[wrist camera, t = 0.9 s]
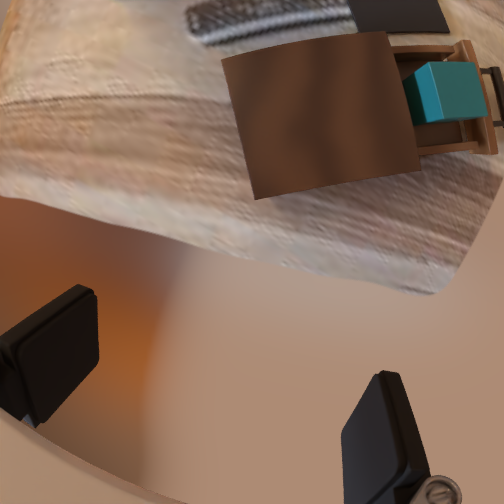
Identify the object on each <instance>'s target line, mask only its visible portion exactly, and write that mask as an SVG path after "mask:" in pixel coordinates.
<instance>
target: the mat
mask: <svg viewBox="0 0 504 504" xmlns="http://www.w3.org/2000/svg"><path fill="white" fill-rule="evenodd" d="M347 2H348V5H349V7H350V10H351V12H352V15H353V18H354V20H355V23H356V26H357V29H358V31H359V33H366V32H380V31H386V33H405V32H436V33H450V30H449V28H448V25H447V23H446V20H445V18H444V15H443V13H442V11H441V8H440V6H439V4H438V1H437V0H347Z"/></svg>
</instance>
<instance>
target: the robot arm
mask: <svg viewBox="0 0 504 504" xmlns="http://www.w3.org/2000/svg"><path fill="white" fill-rule="evenodd" d="M97 315H98V313H97V296H96V295H94V291H93V290H92V289H90V288H87V287H85V286H82V285H80V284H77V285H75V286H74V287H72V288H71V289H69V290H67V291H66V292H64V293H63V294H61V295H60V296H58V297H57V298H56V299H54V300H52V301H51V302H49V303H48V304H46V305H45V306H43V307H42V308H40V309H39V310H37V311H36V312H34V313H33V314H31V315H30V316H28V317H27V318H26V319H24V320H23V321H21V322H20V323H18V324H17V325H16V326H14V327H13V328H11V329H10V330H8V331H7V332H5V333H4V334H3V335H1V336H0V504H186V503H183V502H180V501H177V500H174V499H171V498H168V497H166V496H163V495H160V494H157V493H155V492H152V491H149V490H146V489H144V488H142V487H139V486H137V485H134V484H132V483H130V482H127V481H125V480H123V479H120V478H118V477H116V476H114V475H112V474H110V473H108V472H105V471H103V470H101V469H99V468H97V467H95V466H93V465H91V464H89V463H87V462H86V461H84V460H82V459H80V458H78V457H76V456H74V455H73V454H71V453H69V452H67V451H66V450H64V449H62V448H60V447H58V446H57V445H55V444H54V443H52V442H50V441H49V440H47V439H45V438H44V437H42V436H41V435H39V434H38V433H36V432H35V431H33V430H32V429H30V428H28V427H27V426H26V425H24V424H23V423H21V422H20V421H21V420H22V419H24V421H25V422H27V423H28V424H30V425H31V426H33V427H34V428H36V427H37V426H38V425H39V424H40V423H45V422H46V421H47V420H48V419H49V418H50V417H51V415H52V414H53V413H54V412H55V411H56V410H57V409H58V408H59V406H60V405H61V404H62V403H63V402H64V401H65V400H66V399H67V397H68V396H69V395H70V394H71V393H72V392H73V391H74V390H75V389H76V387H77V386H78V385H79V384H80V383H81V382H82V381H83V380H84V379H85V378H86V376H87V375H88V374H89V373H90V372H91V371H92V370H93V369H94V368H95V367H96V365H97V364H98V361H99V342H98V318H97V317H98V316H97ZM341 446H342V462H343V463H342V464H343V486H344V504H461V502H462V493H461V490H460V488H459V486H458V485H457V484H456V483H455V482H454V481H453V480H452V479H450V478H448V477H446V476H441V475H435V476H431V474H430V468H429V465H428V461H427V458H426V454H425V451H424V447H423V444H422V441H421V437H420V434H419V431H418V428H417V424H416V421H415V418H414V415H413V412H412V409H411V406H410V403H409V400H408V397H407V394H406V391H405V388H404V385H403V383H402V380H401V377H400V375H399V373H396V372H390V371H384V370H383V371H381V372H380V373H379V374H375V375H374V376H373V377H372V379H371V381H370V383H369V385H368V386H367V388H366V390H365V392H364V394H363V395H362V397H361V399H360V401H359V402H358V404H357V406H356V408H355V409H354V411H353V413H352V414H351V416H350V418H349V419H348V421H347V423H346V425H345V426H344V428H343V430H342V433H341Z"/></svg>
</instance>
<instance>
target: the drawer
mask: <svg viewBox="0 0 504 504" xmlns="http://www.w3.org/2000/svg"><path fill="white" fill-rule="evenodd" d="M391 48H392V51H393V54H394V57H395V61H396V64H397V67H398V70H399V74H400V77H401V81H403V80H404V79H406V78H407V77H408V76H410V75H411V74H412V73H414V72H415V71H417V70H418V69H419V68H421V67H422V66H424V65H425V64H426V63H428V62H443V60H444V59H445V58H447V59H448V62H474V63H475V66H476V69H477V73H478V76H479V80H480V83H481V87H482V91H483V95H484V99H485V103H486V107H487V112H488V116H487V117H481V118H475V119H469V120H464V124H465V129H466V135H467V140H468V141H467V142H462V136H461V131H460V126H459V121H457V122H452V123H440V124H429V125H419V126H413V129H414V134H415V139H416V144H417V149H418V155H419V156H421V155H429V154H437V153H445V152H454V151H463V150H469V152H470V154H485V155H494V154H498V148H497V142H496V136H495V130H494V127H499V126H502V127H503V128H504V81H503V78H502V74H501V71H500V68H499V67H490V68H488V69H485V68H479V65H478V62H477V59H476V55H475V52H474V50H473V47H472V44H471V41H470V40H461V41H459V42H458V43H456V44H455V45H453V46H447V45H415V46H391ZM481 74H488V75H490V76H491V80H492V83H493V87H494V91H495V95H496V99H497V103H498V107H499V112H500V117H501V121H493V120H492V115H491V110H490V106H489V102H488V97H487V93H486V90H485V86H484V82H483V78H482V75H481ZM404 92H405V91H404ZM410 116H411V115H410ZM412 125H413V124H412Z"/></svg>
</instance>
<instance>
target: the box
mask: <svg viewBox="0 0 504 504" xmlns="http://www.w3.org/2000/svg"><path fill="white" fill-rule="evenodd" d="M402 84H403V88H404V91H405V95H406V99H407V103H408V107H409V111H410V115H411V120H412V124H413V126H419V125H429V124H440V123H452V122H457V121H463V120H469V119H475V118H481V117H487V116H488V112H487V107H486V103H485V99H484V95H483V91H482V87H481V83H480V80H479V76H478V73H477V69H476V66H475V63H474V62H428V63H426V64H425V65H424V66H422V67H421V68H419V69H418V70H417V71H415V72H414V73H412V74H411V75H410V76H408V77H407V78H406V79H404V80H403V81H402Z"/></svg>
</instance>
